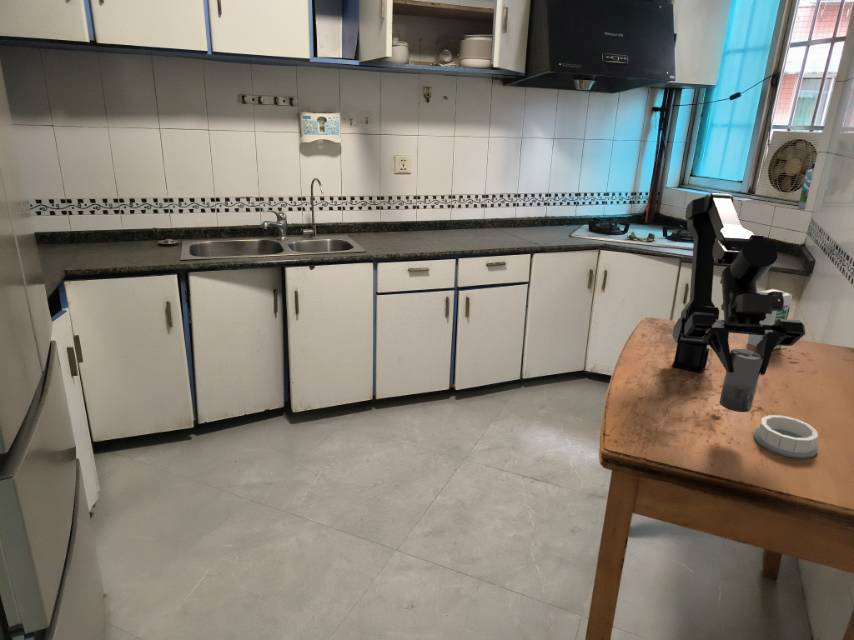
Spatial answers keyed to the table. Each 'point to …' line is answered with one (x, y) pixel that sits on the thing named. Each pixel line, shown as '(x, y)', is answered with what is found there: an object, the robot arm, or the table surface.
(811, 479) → the table surface
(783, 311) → the syrup box
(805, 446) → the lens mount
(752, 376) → the lens
